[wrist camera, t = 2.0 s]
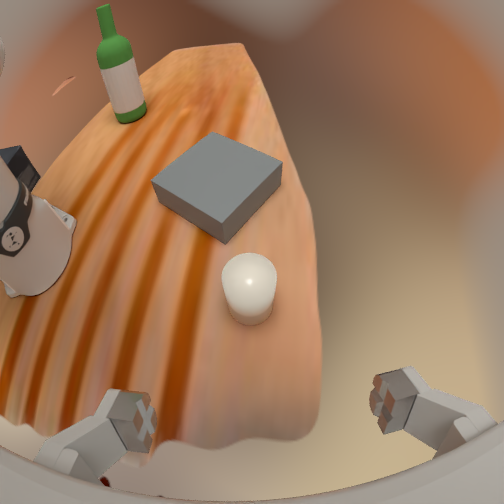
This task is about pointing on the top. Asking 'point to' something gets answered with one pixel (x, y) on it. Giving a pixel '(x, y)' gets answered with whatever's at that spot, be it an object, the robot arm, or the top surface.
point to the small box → (20, 166)
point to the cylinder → (249, 287)
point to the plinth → (218, 184)
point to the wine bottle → (119, 70)
